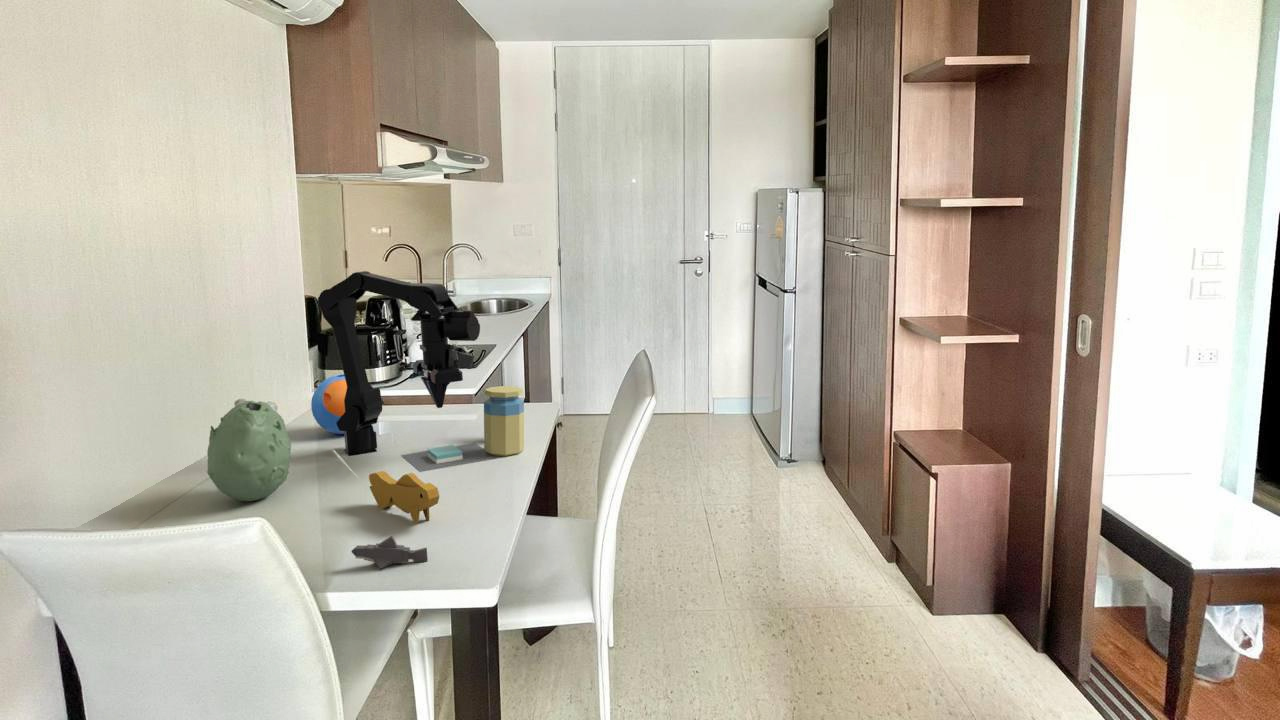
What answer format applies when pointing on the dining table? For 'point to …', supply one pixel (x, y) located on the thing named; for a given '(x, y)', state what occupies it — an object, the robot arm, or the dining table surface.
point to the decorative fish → (404, 493)
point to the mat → (469, 456)
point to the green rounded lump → (249, 451)
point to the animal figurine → (389, 553)
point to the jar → (503, 421)
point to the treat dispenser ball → (329, 403)
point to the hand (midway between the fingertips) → (439, 407)
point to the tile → (445, 454)
